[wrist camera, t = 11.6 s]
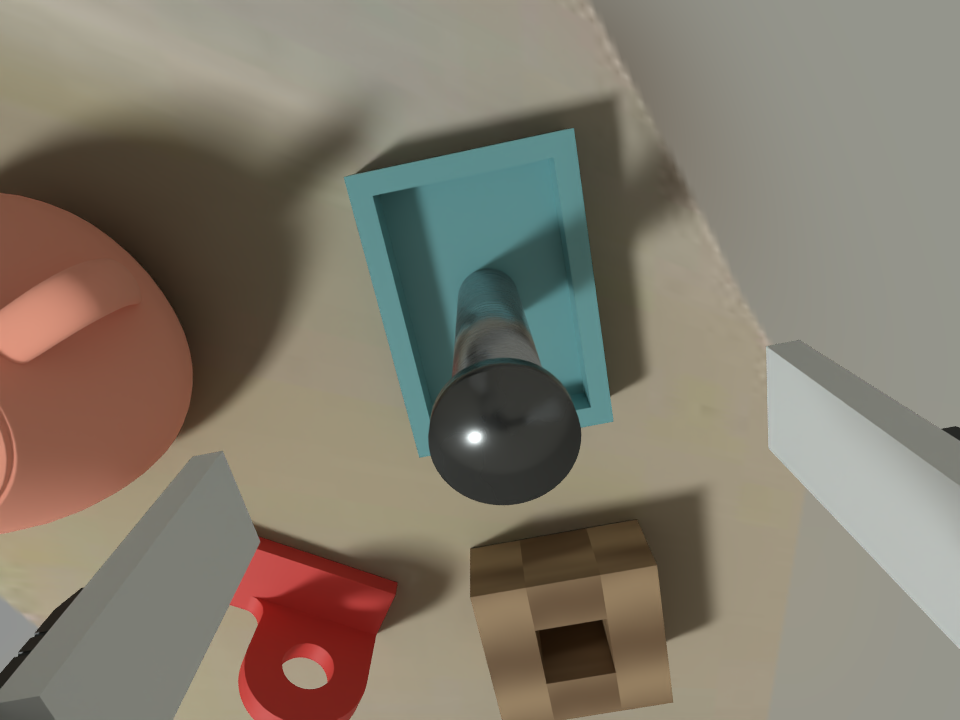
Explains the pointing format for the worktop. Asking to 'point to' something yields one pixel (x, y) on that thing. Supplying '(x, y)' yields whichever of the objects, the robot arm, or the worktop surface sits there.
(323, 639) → the bracket
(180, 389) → the teapot
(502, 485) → the pin
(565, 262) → the tray
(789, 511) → the worktop surface
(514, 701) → the block
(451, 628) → the worktop surface
